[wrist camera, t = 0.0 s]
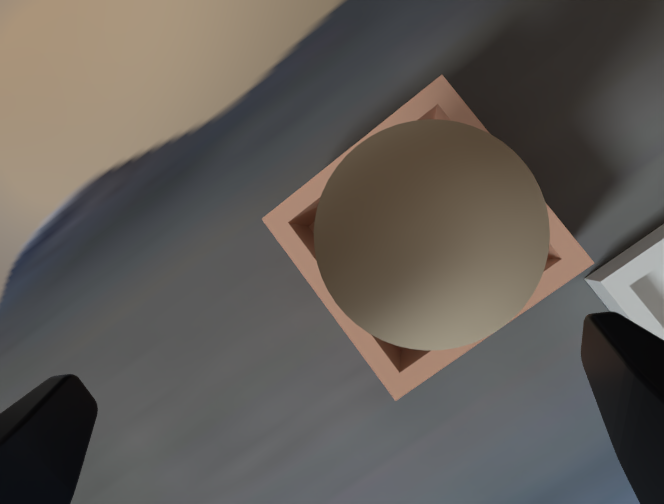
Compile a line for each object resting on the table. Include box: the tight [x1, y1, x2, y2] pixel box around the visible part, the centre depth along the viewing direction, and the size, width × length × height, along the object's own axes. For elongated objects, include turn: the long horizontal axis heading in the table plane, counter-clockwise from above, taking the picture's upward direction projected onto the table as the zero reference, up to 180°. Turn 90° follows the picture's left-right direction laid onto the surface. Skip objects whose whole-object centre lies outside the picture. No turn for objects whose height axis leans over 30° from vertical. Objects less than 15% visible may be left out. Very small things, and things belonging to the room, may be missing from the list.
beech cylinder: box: [314, 119, 550, 351], centre depth 16 cm, size 5×5×12 cm
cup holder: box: [262, 75, 594, 401], centre depth 20 cm, size 9×9×4 cm
